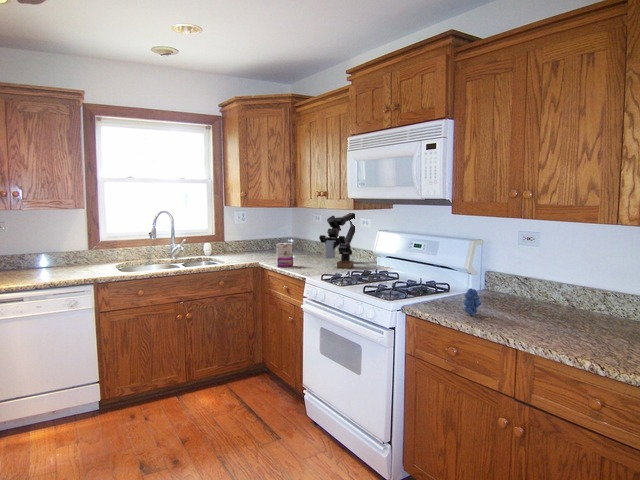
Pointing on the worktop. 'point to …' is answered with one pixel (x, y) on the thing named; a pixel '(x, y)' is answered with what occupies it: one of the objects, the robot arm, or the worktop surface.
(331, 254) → the small plastic crate
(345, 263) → the wooden crate
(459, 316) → the worktop surface
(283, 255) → the candy bar box
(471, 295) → the grapes
